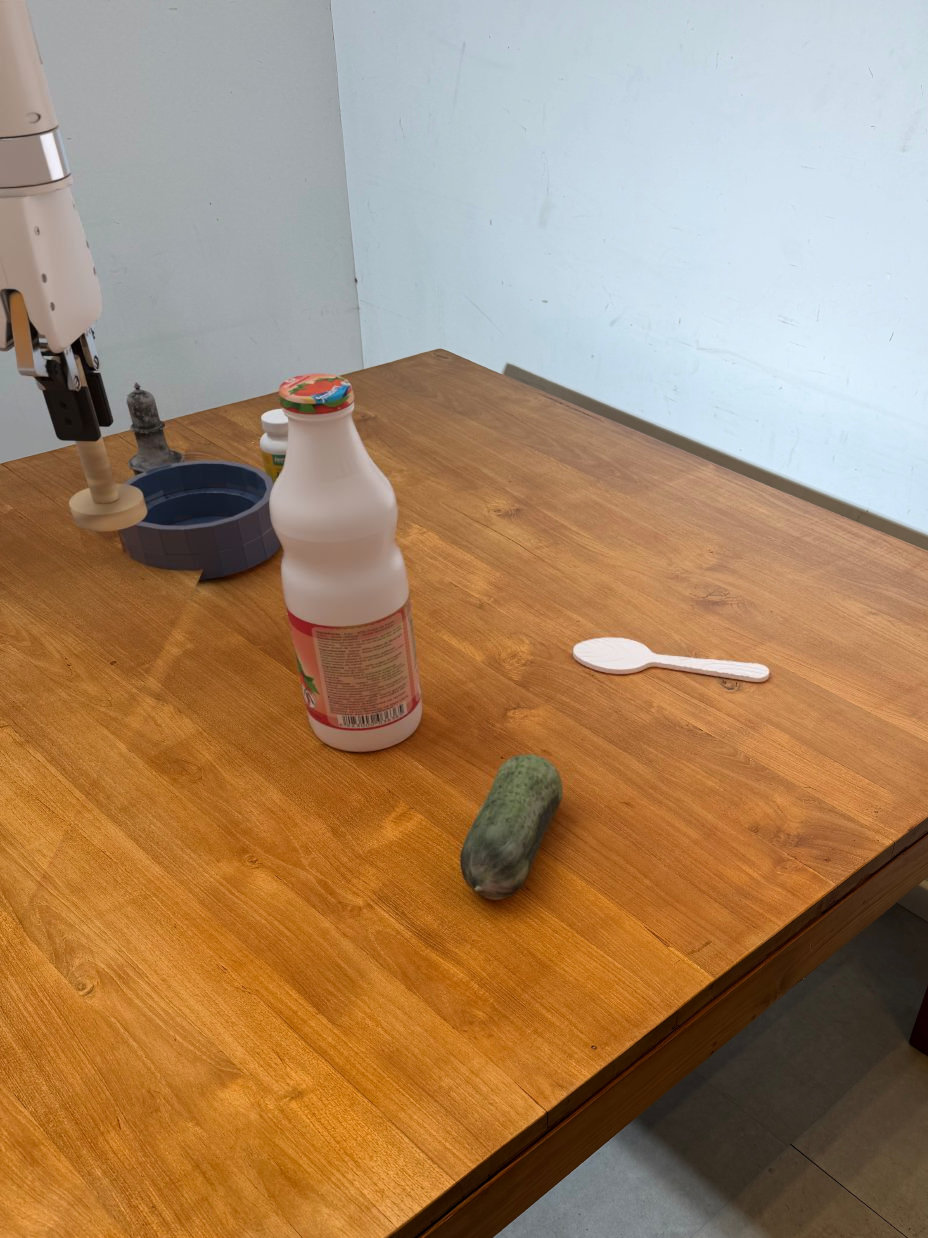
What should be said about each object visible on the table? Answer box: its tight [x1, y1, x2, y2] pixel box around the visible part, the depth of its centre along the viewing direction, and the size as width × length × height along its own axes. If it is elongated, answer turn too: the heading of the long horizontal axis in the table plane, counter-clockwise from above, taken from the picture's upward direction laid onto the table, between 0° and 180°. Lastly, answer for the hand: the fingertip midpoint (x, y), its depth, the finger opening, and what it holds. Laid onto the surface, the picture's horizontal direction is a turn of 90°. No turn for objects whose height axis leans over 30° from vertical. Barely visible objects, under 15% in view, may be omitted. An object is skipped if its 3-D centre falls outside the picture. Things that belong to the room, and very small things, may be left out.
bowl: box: [116, 459, 282, 581], centre depth 114 cm, size 16×16×6 cm
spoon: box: [572, 636, 770, 683], centre depth 102 cm, size 5×18×1 cm, turn 79°
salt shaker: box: [126, 382, 186, 476], centre depth 122 cm, size 6×6×12 cm
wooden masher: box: [50, 354, 147, 533], centre depth 87 cm, size 6×6×12 cm
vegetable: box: [459, 753, 564, 901], centre depth 81 cm, size 14×5×5 cm, turn 167°
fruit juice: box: [269, 373, 423, 753], centre depth 85 cm, size 9×9×28 cm
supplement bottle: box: [259, 408, 289, 483], centre depth 121 cm, size 5×5×10 cm
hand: (86, 430), depth 87 cm, fingers closed on wooden masher
